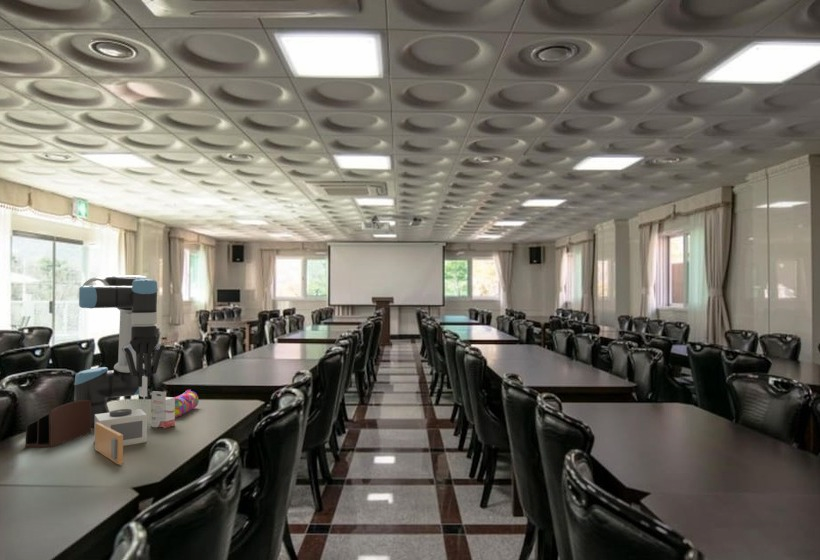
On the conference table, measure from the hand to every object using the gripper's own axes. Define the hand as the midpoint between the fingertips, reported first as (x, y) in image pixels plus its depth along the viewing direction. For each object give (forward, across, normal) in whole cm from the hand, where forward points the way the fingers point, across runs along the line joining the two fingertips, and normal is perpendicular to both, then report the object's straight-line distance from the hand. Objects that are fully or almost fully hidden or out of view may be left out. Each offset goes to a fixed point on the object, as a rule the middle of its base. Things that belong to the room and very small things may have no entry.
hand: (143, 396), depth 165 cm
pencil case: (+21, -38, -55) cm, 70 cm away
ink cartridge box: (+21, -22, -36) cm, 47 cm away
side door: (+20, +8, -8) cm, 23 cm away
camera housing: (+20, -2, -25) cm, 32 cm away
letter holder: (+21, +12, -47) cm, 53 cm away
